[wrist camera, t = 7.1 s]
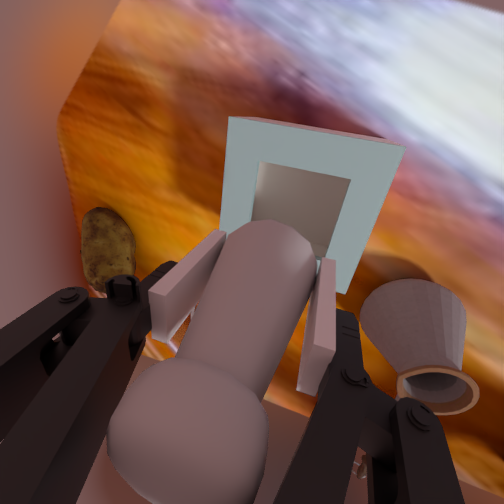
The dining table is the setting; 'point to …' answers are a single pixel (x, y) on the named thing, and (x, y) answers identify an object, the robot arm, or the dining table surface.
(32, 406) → the robot arm
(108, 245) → the potato
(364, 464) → the coffee pot
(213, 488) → the salt shaker
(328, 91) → the dining table surface
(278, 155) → the drop box
